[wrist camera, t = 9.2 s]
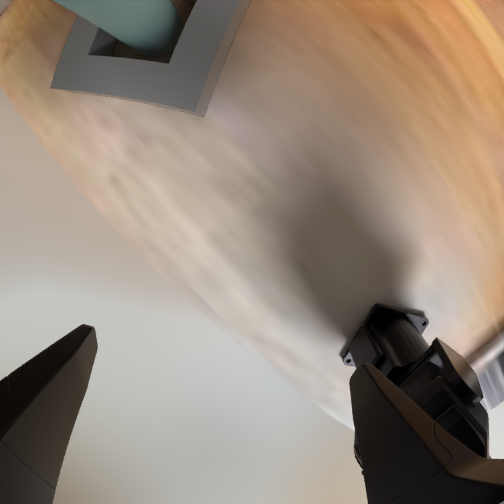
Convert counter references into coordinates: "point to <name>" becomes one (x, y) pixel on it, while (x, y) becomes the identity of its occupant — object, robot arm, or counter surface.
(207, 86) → the socket block
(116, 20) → the peg
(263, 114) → the counter surface
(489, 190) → the counter surface
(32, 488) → the robot arm
